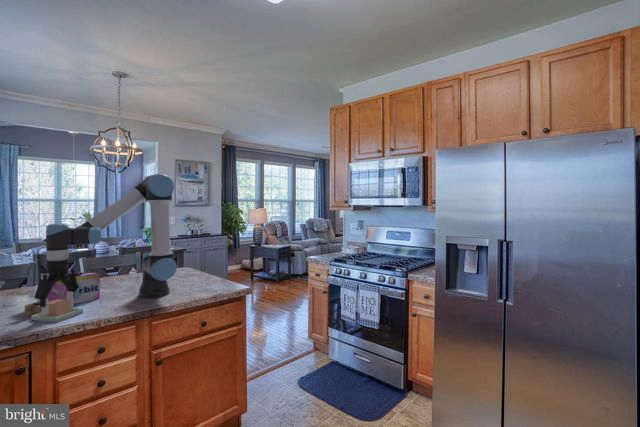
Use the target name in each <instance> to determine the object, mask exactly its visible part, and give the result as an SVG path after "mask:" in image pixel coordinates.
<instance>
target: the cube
mask: <svg viewBox="0 0 640 427" xmlns="http://www.w3.org/2000/svg"><path fill="white" fill-rule="evenodd" d="M70 308H71V306H70V300H60V299H58V300H55V301H51V302H49V314H47V315H45V316H49V317H58V316H61V315H64V314H67V313H70Z"/></svg>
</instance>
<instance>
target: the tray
mask: <svg viewBox="0 0 640 427" xmlns="http://www.w3.org/2000/svg"><path fill="white" fill-rule="evenodd" d="M81 314H84V308H79V307H70V313H67V314H64V315H61V316H58V317H49V316H45V314H41V313H38V314H35V315H32V316H30V321H31V320H34V322H45V323H59V322H62V321H64V320H68V319H70V318H74V317H76V316H79V315H81Z"/></svg>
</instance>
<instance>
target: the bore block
mask: <svg viewBox="0 0 640 427" xmlns="http://www.w3.org/2000/svg"><path fill="white" fill-rule="evenodd" d="M49 302H51V301H49ZM38 313H41V307H40V305H37V301H36V302H33V303H28V304H25V305H24V316H25V317H26V316H27V317H31V316H32V315H35V314H38Z"/></svg>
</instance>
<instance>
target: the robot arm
mask: <svg viewBox="0 0 640 427" xmlns="http://www.w3.org/2000/svg"><path fill="white" fill-rule="evenodd" d="M174 191H175V183H174V181H173V179H172V178H171V177H170V176H169V175H166V174H164V173H163V174H162V173H155V174H152V175H149V176H147V177H146V178H144V179H143V180H142V181H140V183H138V184H136V185H135V186H134V187H133V188H132V191H130V192H129V193H127V194H126V195H124V196H123V197H121V198H120V199H117V201H115V202H114V203H112V204H111V205H109V206H108V207H106V208H104V209H103V210H102V211H100V212H98V213H97V214H95V215H94V216H93V217H91V218H89V219H88V220H86V221H85V222H83V223H82V224H81V225H78V226H76V227H75V228H74V227H69V224H68V223H51V224H47V225H46V226H45V227H46V231H45V232H46V233H45V240H46V241H45V242H46V243H45V246H46V247H45V249H46V253H45V254H46V255H45V256H46V257H45V258H46V262H45V264H46V267H45V268H46V270H47V272H46V273H44V274H43V273H41V274H39V277H38V278H39V280H38V285H37V287H36V291H35V294H34V299H35V300H37V299H40V307H41V314H45V315H47V314H49V299H46V298H47V296H48V294H49V292H50V290H51V288H52V287H53V285H54V284H55V283H56V282H57V281H59V280H61V281H62V282H63V284H64V285H65V286H66V288H67V289H68V292H67V300H70V308H73V307H74V304H73V298H74V291H76V290H77V289H78V288H79V286H78V283H77V280H76V277H75V274H76V273H75V268H68V267H69V262H70V261H69V259H68V258H69V257H70V256H69V246H74V245H75V246H77V245H78V246H79V245H93V244H94V245H95V244H99V243H101V241H102V231H104V229H106V228H107V227H109V226H110V225H112V224H114V223H115V222H116V221H118V220H120V219H121V218H123V217H124V216H125V215H127V214H128V213H130V212H131V211H132V210H134V209H135V208H137V207H139V205H141V204H143V203H148V204H149V205H150V206H149V207H150V235H151V236H150V238H151V240H150V241H151V251H150V252H144V253H143V254H142V257H141V263H142V264H141V265H142V268H141V269H142V273H141V274H142V277H141V278H142V279H141V280H142V281H141V284H140V287H139V290H138V296H139V298H146V299H147V298H158V297H162V296H163V297H164V296H166V295H169V294H170V291H171V290H170V286H169V283H168V280H170V279H171V278H172V277H174V276H175V274H176V272H177V268H178V267H177V263H176V261H175V258H174V257H175V256H174V251H172V250H171V235H170V234H171V232H170V231H171V230H170V229H171V228H170V203H171V202H172V200H173V196H172V195H173V192H174ZM67 275H68V277H67Z"/></svg>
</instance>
